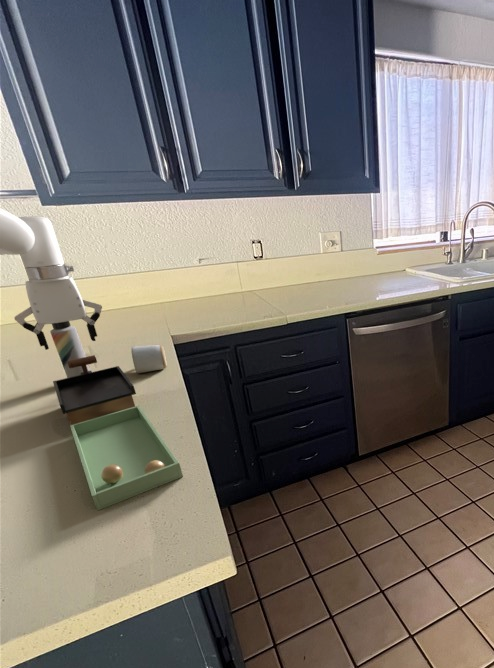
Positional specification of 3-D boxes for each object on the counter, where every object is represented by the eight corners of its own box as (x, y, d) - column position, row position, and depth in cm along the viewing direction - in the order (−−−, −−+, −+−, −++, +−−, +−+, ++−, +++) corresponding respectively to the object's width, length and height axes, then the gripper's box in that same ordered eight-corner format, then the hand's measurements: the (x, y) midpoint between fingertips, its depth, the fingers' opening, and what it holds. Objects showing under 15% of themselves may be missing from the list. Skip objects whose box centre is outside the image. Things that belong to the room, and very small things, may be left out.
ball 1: (102, 488, 73) (97, 476, 71) (105, 475, 75) (100, 462, 74) (123, 485, 74) (119, 473, 72) (125, 472, 76) (121, 459, 75)
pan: (63, 414, 90) (54, 391, 88) (54, 383, 106) (46, 364, 104) (136, 394, 98) (129, 373, 96) (117, 368, 114) (111, 350, 112)
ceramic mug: (168, 371, 124) (161, 346, 121) (136, 377, 121) (129, 351, 118) (168, 360, 133) (161, 337, 130) (138, 366, 129) (131, 341, 126)
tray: (97, 510, 68) (91, 496, 67) (74, 437, 90) (69, 425, 89) (183, 476, 76) (179, 462, 74) (142, 416, 98) (138, 405, 97)
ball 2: (138, 465, 74) (145, 483, 74) (146, 462, 72) (153, 480, 72) (156, 459, 77) (162, 475, 77) (164, 456, 75) (171, 473, 75)
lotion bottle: (85, 375, 124) (61, 307, 116) (97, 378, 121) (73, 309, 113) (64, 382, 119) (38, 312, 111) (77, 385, 117) (50, 314, 109)
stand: (71, 426, 95) (64, 408, 93) (65, 406, 105) (58, 389, 103) (135, 407, 102) (130, 390, 101) (124, 390, 112) (118, 374, 111)
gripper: (88, 268, 107) (108, 334, 113) (-1, 276, 97) (26, 348, 103) (93, 270, 101) (113, 339, 108) (-1, 279, 91) (27, 355, 98)
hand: (70, 344), depth 106 cm, fingers open, 9 cm apart
